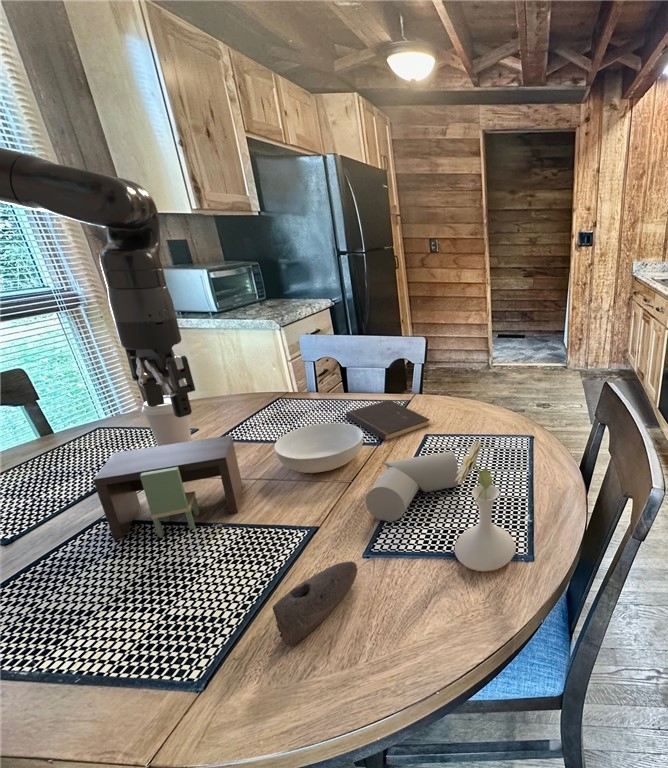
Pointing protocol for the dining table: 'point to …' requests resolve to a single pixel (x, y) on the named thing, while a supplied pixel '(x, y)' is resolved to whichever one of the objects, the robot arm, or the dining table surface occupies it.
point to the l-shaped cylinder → (410, 483)
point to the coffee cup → (167, 423)
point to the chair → (168, 497)
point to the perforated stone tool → (312, 601)
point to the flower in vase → (483, 524)
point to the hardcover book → (388, 419)
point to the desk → (190, 457)
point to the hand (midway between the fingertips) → (169, 410)
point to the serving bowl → (319, 447)
